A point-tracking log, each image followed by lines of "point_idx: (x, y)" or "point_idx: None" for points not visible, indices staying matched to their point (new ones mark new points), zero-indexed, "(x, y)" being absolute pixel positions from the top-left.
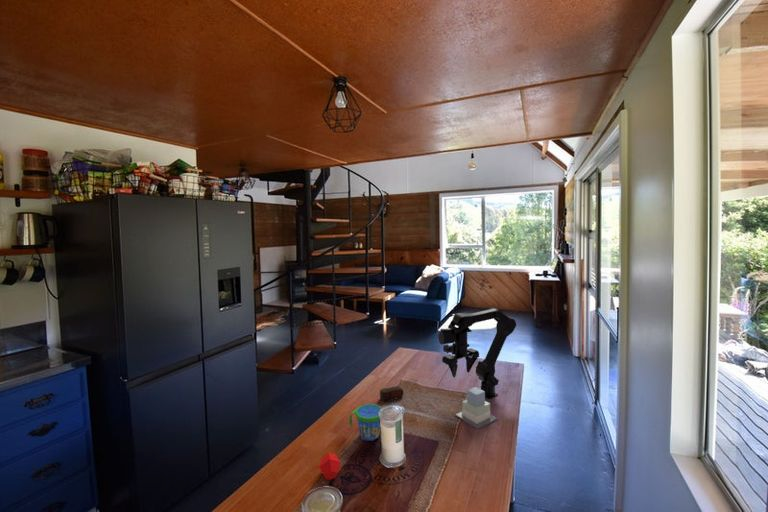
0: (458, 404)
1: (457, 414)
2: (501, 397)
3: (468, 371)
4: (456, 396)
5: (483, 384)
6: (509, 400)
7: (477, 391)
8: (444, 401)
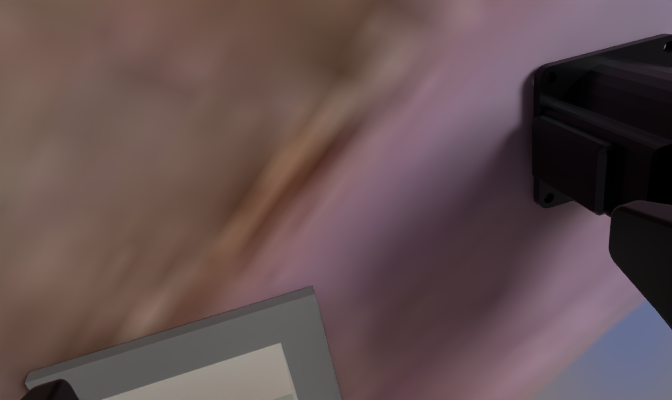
0: (176, 195)
1: None
2: None
3: (629, 272)
4: (257, 12)
5: (636, 186)
6: None
7: None
8: (16, 68)
